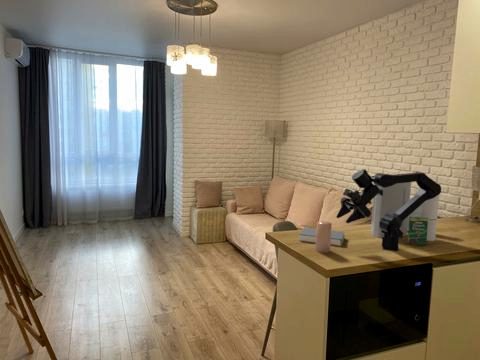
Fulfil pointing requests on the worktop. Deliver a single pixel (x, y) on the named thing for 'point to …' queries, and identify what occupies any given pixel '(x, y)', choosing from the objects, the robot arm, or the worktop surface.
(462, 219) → the worktop surface
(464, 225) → the worktop surface
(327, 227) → the pink cylinder
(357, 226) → the worktop surface
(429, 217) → the cylindrical container
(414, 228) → the coffee box
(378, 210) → the tall white carton
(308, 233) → the book
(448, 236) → the worktop surface
